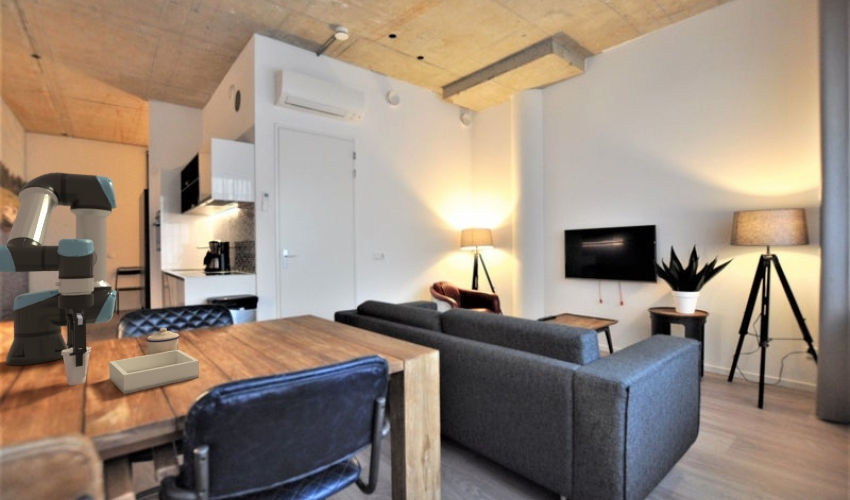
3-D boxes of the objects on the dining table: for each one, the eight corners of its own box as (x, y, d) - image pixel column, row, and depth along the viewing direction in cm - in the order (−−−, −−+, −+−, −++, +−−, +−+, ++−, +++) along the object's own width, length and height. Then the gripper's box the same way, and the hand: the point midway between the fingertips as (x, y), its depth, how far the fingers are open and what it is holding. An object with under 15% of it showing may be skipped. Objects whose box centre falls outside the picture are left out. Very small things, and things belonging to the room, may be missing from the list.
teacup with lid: (183, 363, 131) (183, 328, 131) (151, 369, 124) (151, 332, 124) (170, 356, 139) (170, 323, 138) (139, 362, 132) (139, 327, 131)
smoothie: (73, 388, 108) (73, 337, 108) (55, 386, 109) (54, 335, 109) (97, 380, 114) (97, 332, 114) (79, 378, 115) (79, 330, 115)
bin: (109, 378, 115) (109, 361, 115) (178, 364, 129) (178, 349, 129) (124, 394, 103) (124, 375, 103) (198, 377, 117) (198, 360, 117)
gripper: (54, 291, 115) (54, 370, 115) (63, 297, 102) (63, 386, 102) (87, 289, 120) (87, 364, 121) (100, 295, 108) (100, 379, 108)
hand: (76, 374), depth 111 cm, fingers closed on smoothie, 6 cm apart
